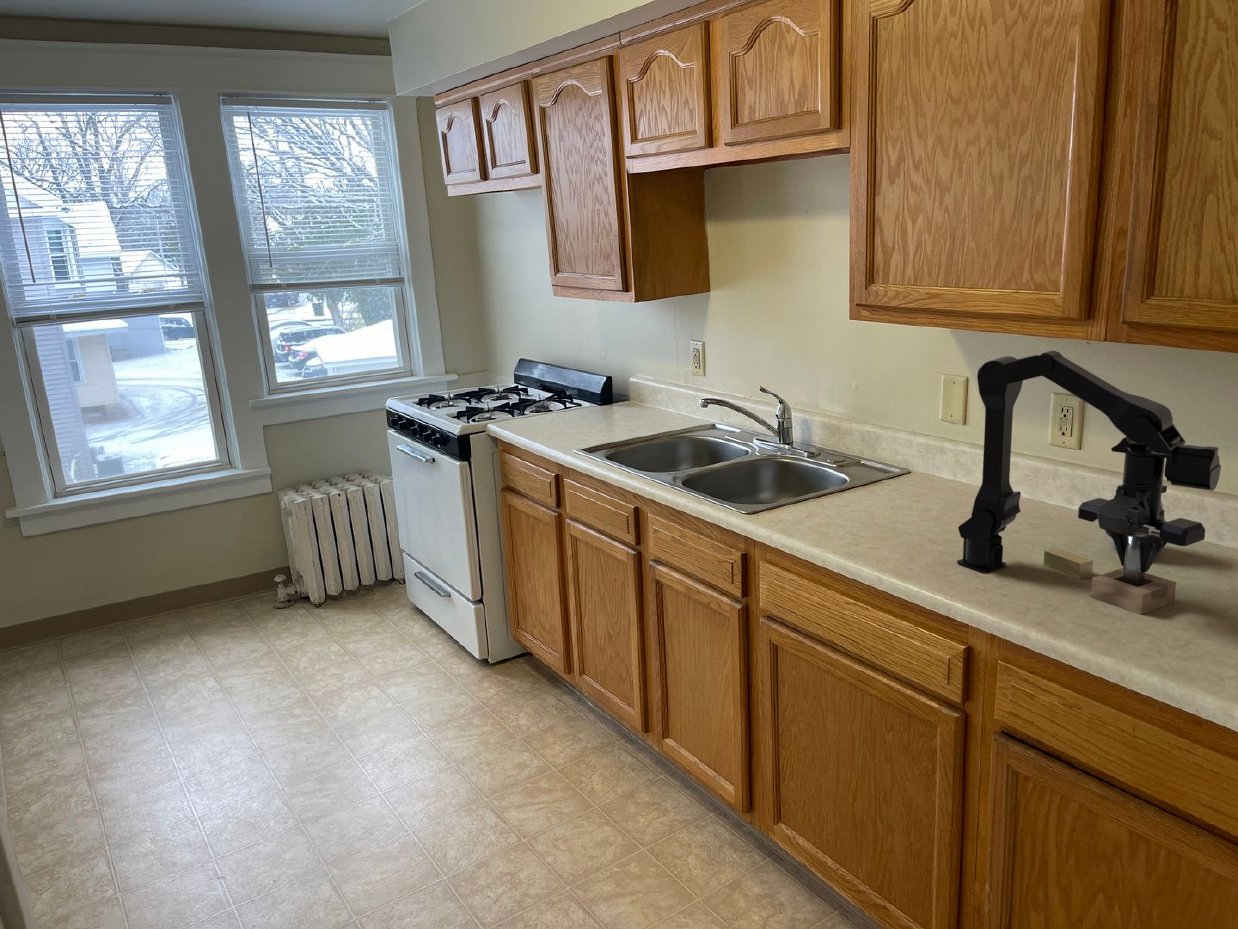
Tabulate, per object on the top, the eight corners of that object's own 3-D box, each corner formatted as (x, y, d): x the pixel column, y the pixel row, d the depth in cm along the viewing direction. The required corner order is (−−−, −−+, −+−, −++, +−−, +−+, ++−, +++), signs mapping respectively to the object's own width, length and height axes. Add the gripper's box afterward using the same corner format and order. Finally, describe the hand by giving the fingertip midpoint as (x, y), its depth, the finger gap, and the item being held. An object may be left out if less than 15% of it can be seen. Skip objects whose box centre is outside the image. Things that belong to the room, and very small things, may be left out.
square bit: (1043, 566, 173) (1044, 550, 172) (1055, 563, 174) (1056, 547, 173) (1079, 580, 166) (1080, 563, 165) (1092, 577, 167) (1093, 560, 166)
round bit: (1117, 590, 156) (1122, 534, 154) (1129, 586, 158) (1134, 531, 155) (1135, 596, 154) (1140, 540, 151) (1147, 592, 155) (1152, 536, 153)
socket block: (1090, 597, 158) (1092, 578, 157) (1123, 585, 162) (1125, 566, 161) (1141, 614, 150) (1142, 594, 149) (1174, 601, 154) (1176, 582, 153)
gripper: (1059, 476, 155) (1053, 563, 159) (1169, 502, 139) (1159, 598, 143) (1101, 465, 160) (1095, 550, 164) (1212, 489, 144) (1201, 581, 148)
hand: (1134, 569), depth 155 cm, fingers closed on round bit, 3 cm apart
